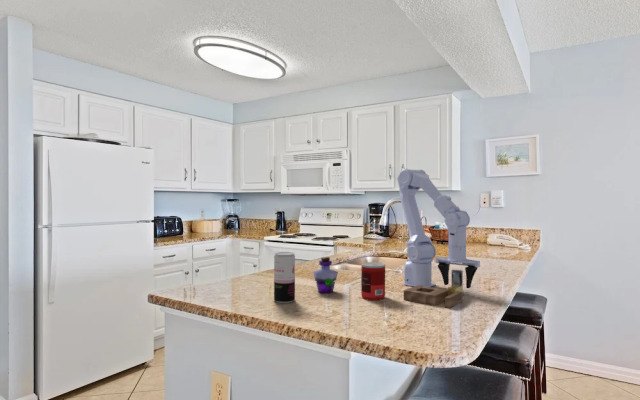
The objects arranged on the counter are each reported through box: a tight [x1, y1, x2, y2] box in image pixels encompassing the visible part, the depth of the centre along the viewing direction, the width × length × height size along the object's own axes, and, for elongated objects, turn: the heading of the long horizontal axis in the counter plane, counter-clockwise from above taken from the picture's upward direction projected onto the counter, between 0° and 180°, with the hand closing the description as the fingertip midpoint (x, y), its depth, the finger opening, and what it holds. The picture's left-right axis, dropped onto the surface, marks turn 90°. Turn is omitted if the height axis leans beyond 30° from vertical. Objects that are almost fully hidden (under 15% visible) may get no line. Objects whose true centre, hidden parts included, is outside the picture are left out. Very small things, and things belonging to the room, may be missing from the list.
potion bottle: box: [312, 256, 338, 295], centre depth 137 cm, size 9×9×12 cm
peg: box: [451, 269, 464, 296], centre depth 134 cm, size 4×4×8 cm
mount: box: [403, 285, 463, 309], centre depth 125 cm, size 15×10×3 cm, turn 50°
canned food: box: [360, 261, 386, 301], centre depth 129 cm, size 8×8×11 cm
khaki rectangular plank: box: [447, 285, 462, 296], centre depth 128 cm, size 2×6×4 cm, turn 140°
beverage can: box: [273, 251, 296, 304], centre depth 125 cm, size 6×6×15 cm
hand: (457, 286), depth 134 cm, fingers open, 7 cm apart
